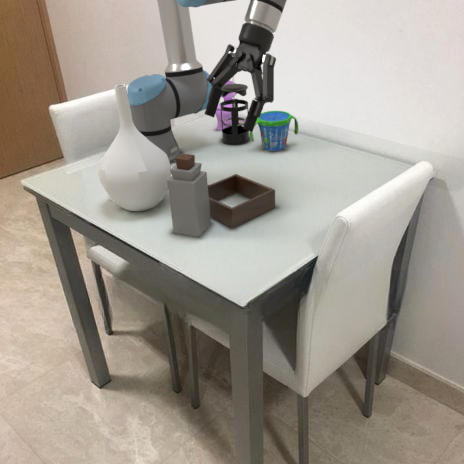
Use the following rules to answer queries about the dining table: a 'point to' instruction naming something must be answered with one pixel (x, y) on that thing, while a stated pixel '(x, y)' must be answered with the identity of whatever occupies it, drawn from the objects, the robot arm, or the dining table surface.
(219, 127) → the toy chair
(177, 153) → the robot arm
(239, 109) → the french press
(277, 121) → the sippy cup
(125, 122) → the vase
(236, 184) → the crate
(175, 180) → the perfume bottle
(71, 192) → the dining table surface
